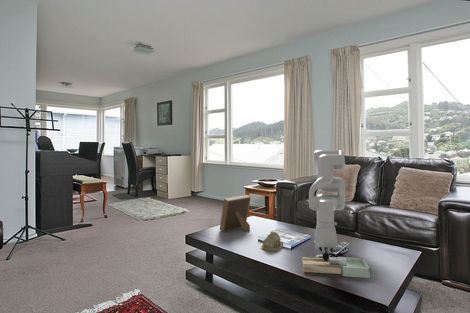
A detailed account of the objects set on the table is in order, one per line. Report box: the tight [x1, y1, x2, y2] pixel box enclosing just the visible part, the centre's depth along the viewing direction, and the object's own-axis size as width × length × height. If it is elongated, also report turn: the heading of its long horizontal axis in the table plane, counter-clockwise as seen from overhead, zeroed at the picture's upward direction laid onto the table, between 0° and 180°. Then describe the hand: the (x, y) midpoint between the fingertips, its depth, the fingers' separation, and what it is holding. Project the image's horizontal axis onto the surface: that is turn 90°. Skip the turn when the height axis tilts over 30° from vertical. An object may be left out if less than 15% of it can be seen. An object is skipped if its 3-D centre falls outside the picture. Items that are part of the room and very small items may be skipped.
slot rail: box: [301, 256, 342, 275], centre depth 140 cm, size 8×18×4 cm, turn 80°
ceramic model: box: [260, 231, 284, 252], centre depth 170 cm, size 14×11×10 cm
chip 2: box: [337, 256, 347, 267], centre depth 138 cm, size 4×4×3 cm
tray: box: [341, 256, 371, 279], centre depth 138 cm, size 12×12×4 cm
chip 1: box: [328, 256, 338, 265], centre depth 139 cm, size 4×4×3 cm
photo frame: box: [219, 194, 252, 233], centre depth 204 cm, size 15×22×25 cm
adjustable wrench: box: [315, 248, 349, 258], centre depth 158 cm, size 25×6×2 cm, turn 118°
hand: (325, 260), depth 139 cm, fingers closed
